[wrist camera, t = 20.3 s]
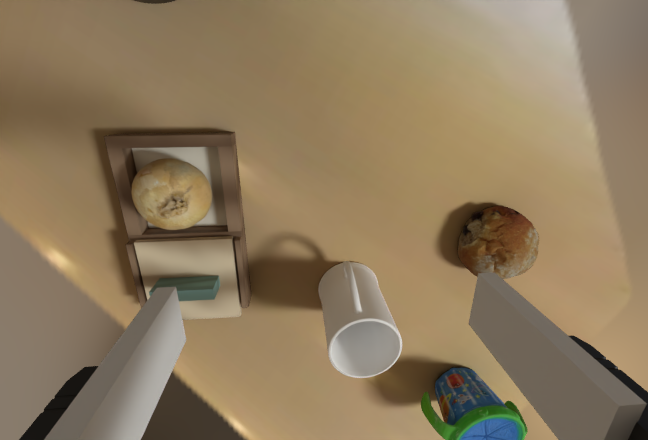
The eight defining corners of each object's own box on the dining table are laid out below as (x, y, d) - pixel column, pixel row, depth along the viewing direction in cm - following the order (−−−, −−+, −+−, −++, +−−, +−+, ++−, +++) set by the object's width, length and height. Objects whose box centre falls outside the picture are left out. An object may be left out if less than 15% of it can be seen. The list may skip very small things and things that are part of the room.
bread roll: (449, 259, 49) (480, 303, 44) (445, 218, 42) (481, 265, 36) (510, 232, 48) (549, 274, 43) (517, 186, 41) (565, 230, 36)
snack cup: (509, 367, 53) (556, 425, 44) (478, 412, 57) (515, 474, 47) (428, 348, 50) (459, 405, 41) (401, 396, 54) (423, 459, 44)
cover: (136, 239, 37) (120, 254, 34) (232, 236, 38) (226, 250, 34) (155, 317, 41) (141, 338, 38) (241, 312, 42) (236, 332, 38)
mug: (313, 243, 42) (320, 295, 31) (376, 236, 43) (405, 285, 32) (320, 316, 46) (329, 384, 35) (378, 309, 47) (404, 375, 36)
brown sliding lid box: (116, 133, 35) (98, 137, 32) (234, 132, 36) (228, 135, 33) (154, 300, 43) (143, 316, 40) (251, 295, 44) (247, 311, 41)
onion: (173, 230, 39) (149, 256, 33) (131, 174, 37) (95, 190, 30) (229, 201, 39) (215, 221, 32) (190, 141, 36) (167, 150, 29)
